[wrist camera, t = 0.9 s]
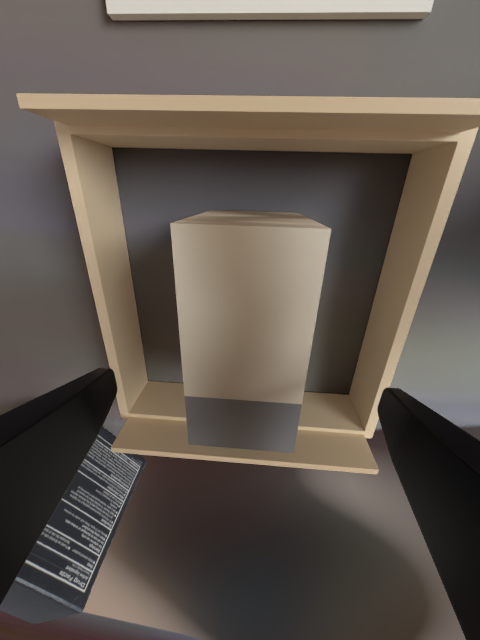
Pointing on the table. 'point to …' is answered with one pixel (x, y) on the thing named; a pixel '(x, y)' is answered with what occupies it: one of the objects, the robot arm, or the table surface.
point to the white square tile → (267, 9)
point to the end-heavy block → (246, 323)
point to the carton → (263, 135)
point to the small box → (76, 537)
